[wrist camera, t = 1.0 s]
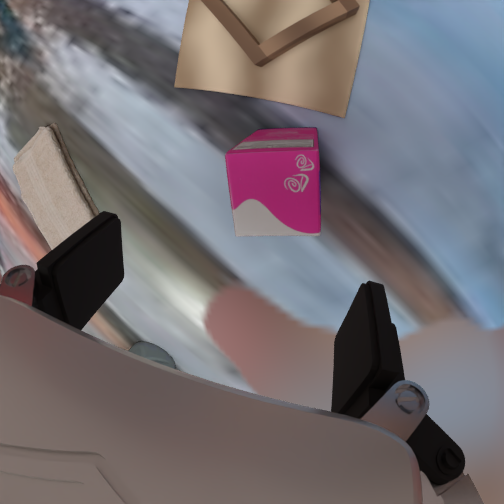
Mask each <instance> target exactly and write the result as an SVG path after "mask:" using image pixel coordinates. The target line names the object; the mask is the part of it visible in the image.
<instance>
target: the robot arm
mask: <svg viewBox="0 0 504 504" xmlns="http://www.w3.org/2000/svg"><path fill="white" fill-rule="evenodd" d="M37 267H38V270H36V271H35V270H34V269H33V268H32V267H31V266H28V265H19V266H15V267H13V268H11V269H9V270H8V271H7V272H6V273H5V274H4V275H3V277H2V280H1V284H0V504H484V503H483V501H482V499H481V497H480V495H479V493H478V491H477V489H476V487H475V485H474V483H473V482H472V480H471V478H470V476H469V474H467V475H464V473H463V470H464V467H465V457H464V454H463V452H462V450H461V448H460V447H459V446H458V445H457V444H456V443H455V442H454V441H453V440H452V439H451V438H450V437H449V436H448V435H447V434H446V433H445V432H444V431H443V430H442V429H441V428H440V427H439V426H438V425H437V424H436V423H435V422H434V421H433V420H432V419H431V418H430V417H429V416H428V415H427V414H426V413H427V412H428V409H429V399H428V396H427V394H426V392H425V391H424V390H423V388H422V387H421V386H419V385H418V384H416V383H415V382H412V381H408V380H405V377H404V370H403V364H402V358H401V352H400V346H399V341H398V335H397V330H396V327H395V325H394V324H393V323H391V318H390V312H389V308H388V303H387V298H386V293H385V289H384V285H383V284H379V283H376V282H372V281H368V282H367V283H366V284H364V283H362V284H361V286H360V288H359V290H358V292H357V294H356V296H355V298H354V300H353V303H352V305H351V307H350V309H349V311H348V313H347V315H346V317H345V319H344V321H343V323H342V325H341V327H340V329H339V331H338V333H337V335H336V338H335V342H334V371H333V391H332V407H331V412H330V411H325V410H320V409H316V408H311V407H307V406H302V405H298V404H293V403H289V402H285V401H281V400H277V399H273V398H269V397H265V396H261V395H257V394H254V393H250V392H246V391H243V390H239V389H235V388H232V387H229V386H225V385H222V384H219V383H215V382H212V381H209V380H206V379H203V378H200V377H197V376H194V375H191V374H188V373H185V372H182V371H179V370H176V369H173V368H170V367H168V366H165V365H162V364H159V363H157V362H154V361H151V360H149V359H146V358H144V357H141V356H139V355H136V354H134V353H131V352H129V351H126V350H124V349H121V348H119V347H117V346H114V345H112V344H110V343H107V342H105V341H103V340H101V339H98V338H96V337H94V336H92V335H89V334H87V333H85V332H83V331H81V330H82V328H83V327H84V326H85V325H86V324H87V322H88V321H89V320H90V319H91V317H92V316H93V315H94V314H95V313H96V311H97V310H98V309H99V308H100V307H101V305H102V304H103V303H104V302H105V301H106V300H107V298H108V297H109V296H110V295H111V294H112V292H113V291H114V290H115V289H116V288H117V287H118V286H119V284H120V283H121V282H122V280H123V278H124V265H123V252H122V237H121V221H120V219H118V216H117V215H116V214H113V213H109V212H106V211H103V212H101V213H100V214H98V215H97V216H96V217H94V218H93V219H92V220H90V221H89V222H87V223H86V224H85V225H83V226H82V227H81V228H79V229H78V230H77V231H76V232H74V233H73V234H72V235H70V236H69V237H68V238H67V239H65V240H64V241H63V242H61V243H60V244H59V245H58V246H56V247H55V248H54V249H53V250H52V251H50V252H49V253H48V254H47V255H45V256H44V257H43V258H42V259H41V260H39V261H38V262H37Z"/></svg>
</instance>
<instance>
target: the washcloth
mask: <svg viewBox="0 0 504 504" xmlns="http://www.w3.org/2000/svg"><path fill="white" fill-rule="evenodd" d="M14 162H15V164H14V165H13V171H14V173H15V175H16V178H17V180H18V183H19V185H20V189H21V192H22V194H21V197H22V199H23V201H24V202H25V203H26V205H27V207H28V208H29V210H30V212H31V214H32V216H33V218H34V220H35V222H36V224H37V225H38V228H39V229H40V231H41V232H42V234H43V236H44V237H45V239H46V240H47V242H48V244H49V246H50V247H51V249H52V250H53V249H54V248H55V247H56V246H58V245H59V244H60V243H61V242H63V241H64V240H65V239H67V238H68V237H69V236H70V235H72V234H73V233H74V232H76V231H77V230H78V229H79V228H81V227H82V226H83V225H85V224H86V223H87V222H89V221H90V220H92V219H93V218H94V217H96V216H97V215H98V214H99V212H98V209H97V208H96V206H95V205H94V202H93V201H92V200H91V197H90V195H89V193H88V190H87V188H85V185H84V182H83V181H82V180H81V177H80V176H79V174H78V172H77V170H76V169H75V166H74V164H73V161H72V160H71V159H70V156H69V154H68V151H67V149H66V146H65V144H64V142H63V140H62V137H61V134H60V132H59V130H58V126H57V125H56V123H53V124H51V125H50V126H47V127H42V126H41V127H39V130H38V132H37V133H36V134H35V136H34V137H32V139H31V140H30V141H29V142H28V143H27V144H26V145H25V146H24V147H23V148H22V149H21V151H20V152H19V153H18V154H17V155H16V157H15V158H14Z"/></svg>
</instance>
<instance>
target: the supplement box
mask: <svg viewBox="0 0 504 504" xmlns="http://www.w3.org/2000/svg"><path fill="white" fill-rule="evenodd" d="M225 159H226V168H227V177H228V186H229V193H230V200H231V207H232V214H233V221H234V228H235V234H236V236H319V235H320V232H321V184H320V162H319V147H318V135H317V128H315V127H305V128H273V129H259V130H257V131H256V132H254V133H253V134H252V135H250V136H249V137H247V138H246V139H245V140H243V141H242V142H240V143H239V144H238V145H236V146H235V147H233V148H232V149H231V150H229V151H228V152H227V153H226V155H225Z"/></svg>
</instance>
